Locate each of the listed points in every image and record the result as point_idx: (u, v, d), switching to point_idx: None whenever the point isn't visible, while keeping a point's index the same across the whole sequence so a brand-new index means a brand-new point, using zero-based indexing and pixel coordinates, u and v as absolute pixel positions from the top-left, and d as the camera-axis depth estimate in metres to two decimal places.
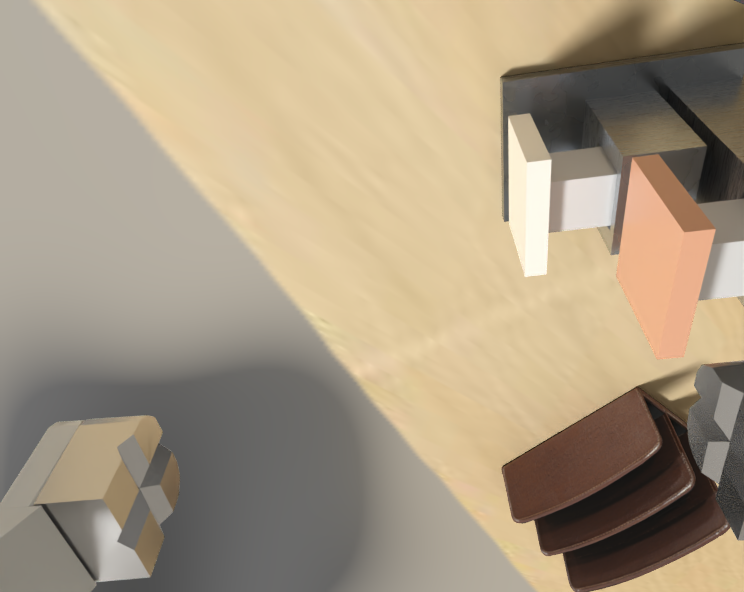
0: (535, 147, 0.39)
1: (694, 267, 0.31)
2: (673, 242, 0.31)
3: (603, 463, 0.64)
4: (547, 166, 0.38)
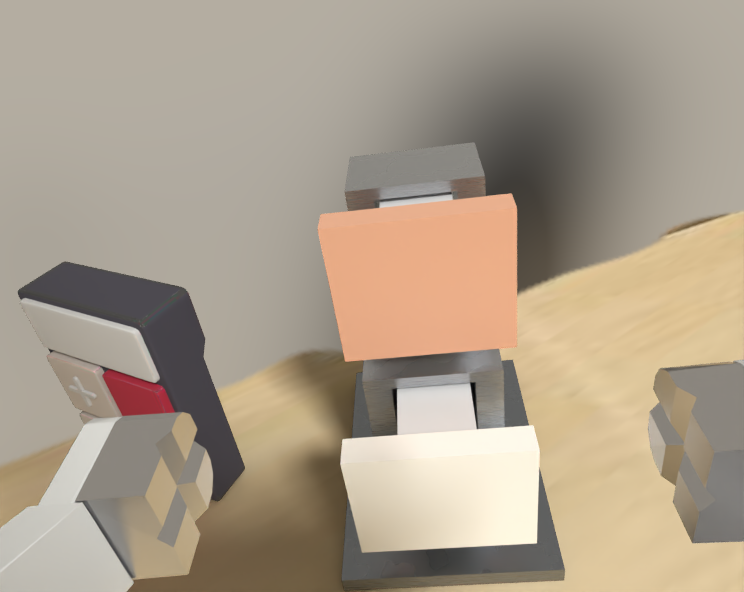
0: None
1: (368, 214, 0.28)
2: (346, 242, 0.28)
3: None
4: (351, 442, 0.29)
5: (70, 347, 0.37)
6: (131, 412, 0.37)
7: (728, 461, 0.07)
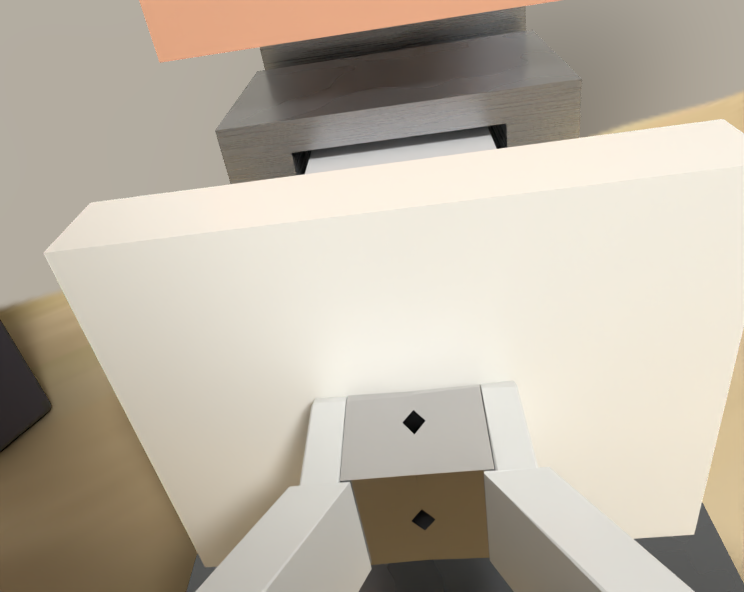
0: None
1: None
2: None
3: None
4: (113, 205, 0.09)
5: None
6: None
7: (432, 483, 0.07)
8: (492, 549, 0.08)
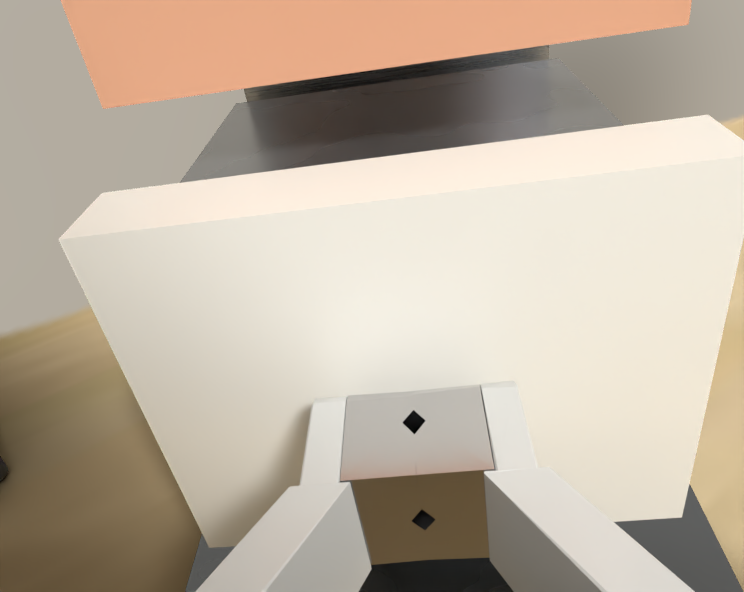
0: None
1: None
2: None
3: None
4: (124, 195, 0.09)
5: None
6: None
7: (432, 483, 0.07)
8: (492, 549, 0.08)
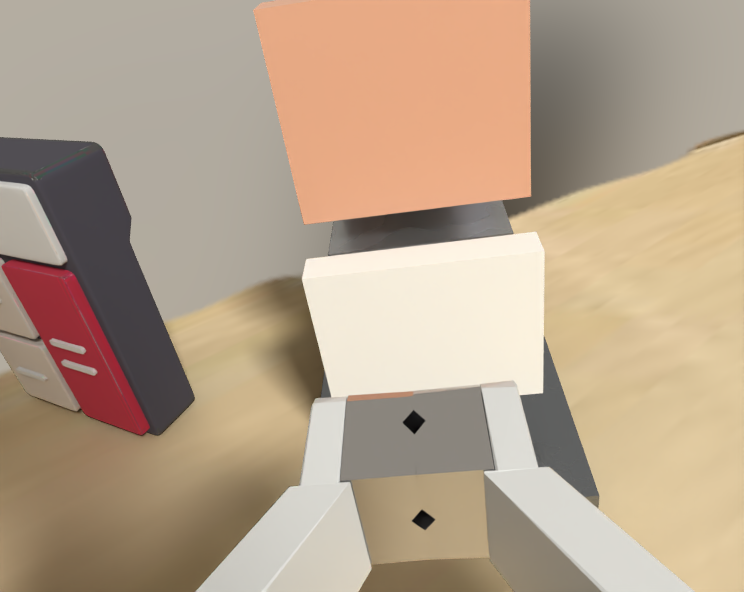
0: None
1: None
2: (294, 31, 0.20)
3: None
4: (316, 260, 0.24)
5: None
6: (41, 316, 0.29)
7: (432, 483, 0.07)
8: (492, 549, 0.08)
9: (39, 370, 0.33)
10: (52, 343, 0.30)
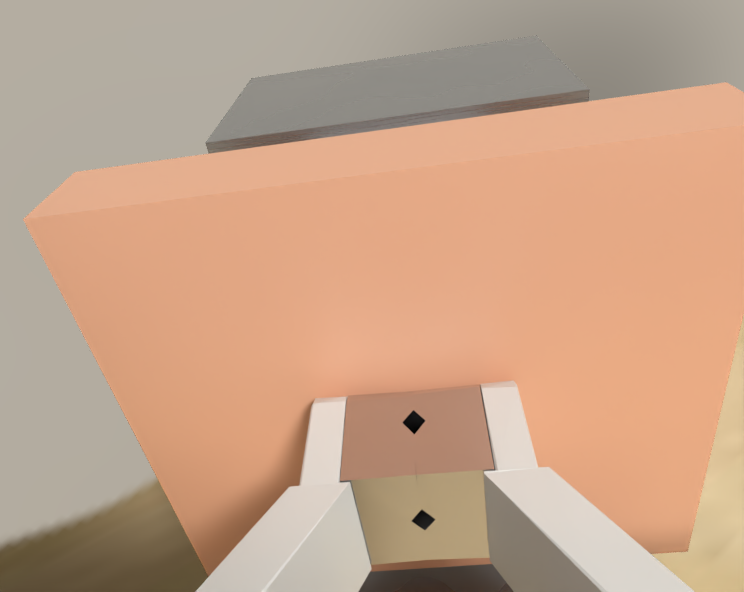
0: None
1: (219, 167, 0.08)
2: (138, 265, 0.08)
3: None
4: None
5: None
6: None
7: (432, 483, 0.07)
8: (492, 549, 0.08)
9: None
10: None
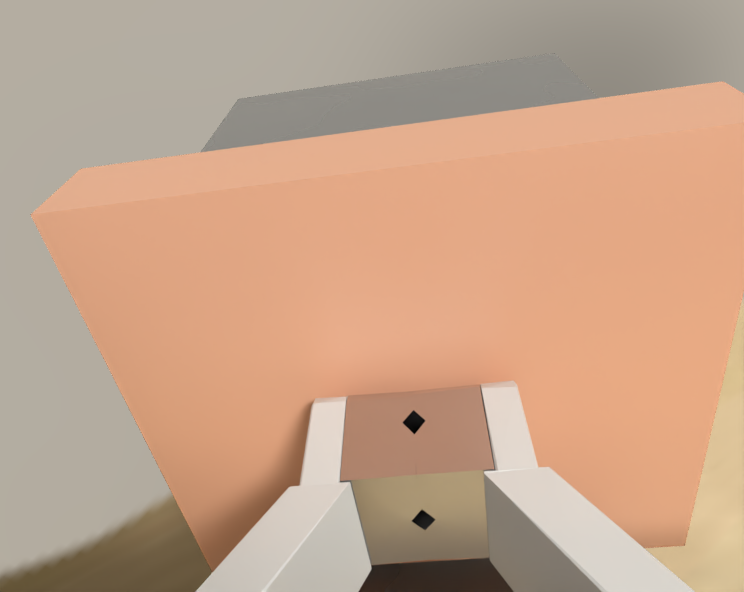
0: None
1: (223, 163, 0.08)
2: (143, 261, 0.08)
3: None
4: None
5: None
6: None
7: (432, 483, 0.07)
8: (492, 549, 0.08)
9: None
10: None
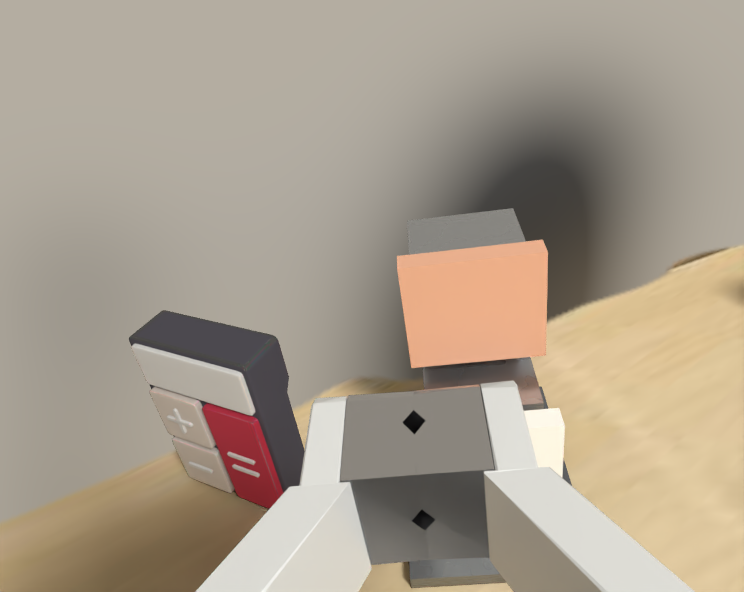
0: None
1: (434, 256, 0.38)
2: (418, 278, 0.37)
3: None
4: None
5: (173, 384, 0.43)
6: (224, 439, 0.44)
7: (432, 483, 0.07)
8: (492, 549, 0.08)
9: (208, 466, 0.48)
10: (229, 455, 0.45)
